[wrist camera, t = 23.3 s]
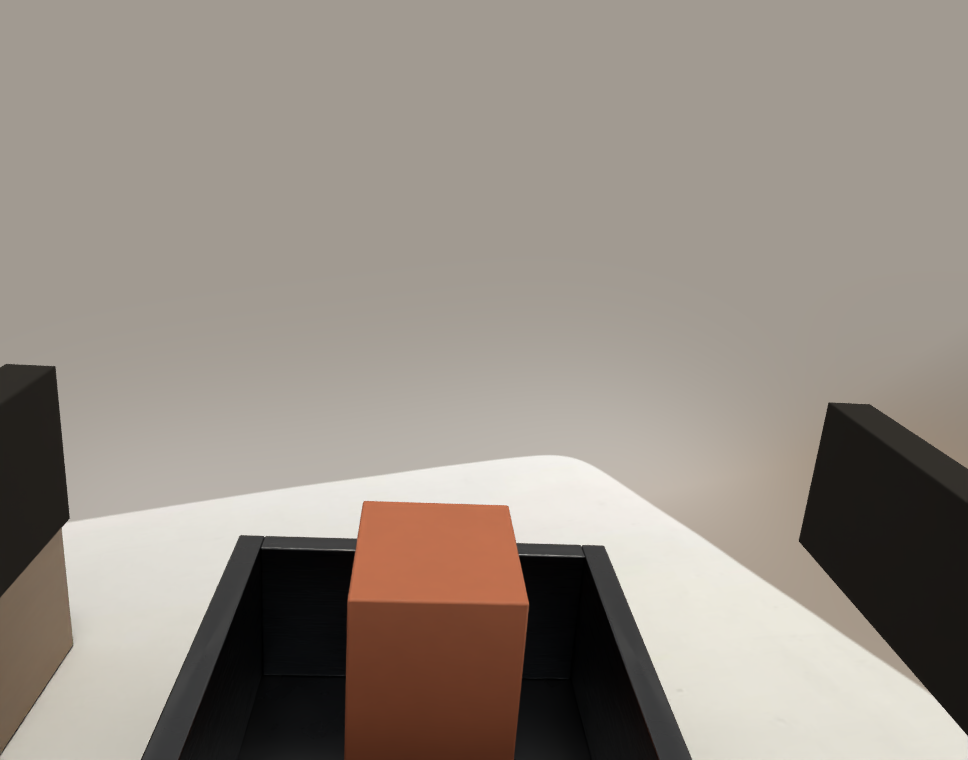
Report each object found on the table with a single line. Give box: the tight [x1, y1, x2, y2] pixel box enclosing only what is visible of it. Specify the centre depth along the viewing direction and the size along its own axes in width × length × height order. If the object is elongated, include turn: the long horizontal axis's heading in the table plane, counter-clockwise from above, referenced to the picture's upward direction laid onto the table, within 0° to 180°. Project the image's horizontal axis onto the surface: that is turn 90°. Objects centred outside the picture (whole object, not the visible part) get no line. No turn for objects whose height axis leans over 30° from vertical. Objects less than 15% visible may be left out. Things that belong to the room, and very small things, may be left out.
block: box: [344, 501, 529, 760], centre depth 27 cm, size 5×6×10 cm
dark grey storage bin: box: [141, 535, 692, 760], centre depth 27 cm, size 15×15×7 cm
